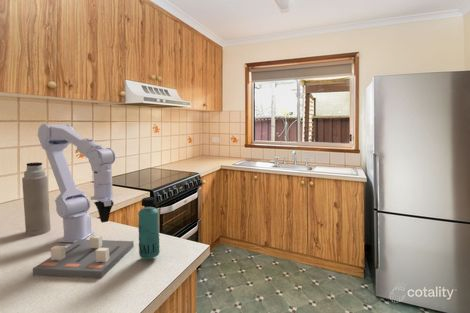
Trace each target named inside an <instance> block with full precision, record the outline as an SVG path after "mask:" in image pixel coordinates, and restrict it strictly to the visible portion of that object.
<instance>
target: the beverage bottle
mask: <svg viewBox="0 0 470 313" xmlns="http://www.w3.org/2000/svg"><path fill="white" fill-rule="evenodd" d="M155 205H156V199H155V197H153V196H147V197H143V198H142V199H141V206H142V208H141V209H140V210H139V211H138V213H137V215H138V220H137V222H138V224H137V226H138V229H137V230H138V254H139V257H140V258H141V259H144V260H145V259H146V260H148V259H154V258H157V256H160V255H159V254H160V223H159V222H160V219H159V217H160V211H159V210H158V209H157V208H156V207H153V206H155Z"/></svg>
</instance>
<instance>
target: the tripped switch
mask: <svg viewBox="0 0 470 313" xmlns="http://www.w3.org/2000/svg"><path fill="white" fill-rule="evenodd" d="M89 240H90V248H100V247H101V246H102V240H103V235H93V234H92V235H91V236H89Z"/></svg>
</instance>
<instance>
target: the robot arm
mask: <svg viewBox="0 0 470 313" xmlns="http://www.w3.org/2000/svg"><path fill="white" fill-rule="evenodd" d="M74 129H75V128H74V127H73V126H71V125H70V124H48V123H47V124H46V123H42V124H40V126H39V127H38V130H37V137H38V140H39V143H40V146H41V148H42V149H43V150H44V151H45V154H46V156H47V160H48V162H49V166H50V167H51V168H50V169H51V171H52V172H53V176H54V179H55V181H56V184H57V186H58V189H59V191H60V192H59V195H58V196H56V198H55V200H54V202H55V208H56V213H57V215H58V216H59V217H60V218H62V224H63V227H62V228H63V237H62V238H61V239H59V240H57V242H58V243H71V244H72V243H74V242H76V241H77V240H79V239H86V238H87V239H88V237H91V236H92V235H93V234H94V233H95V232H94V231H92V217H91V215H90V214H89V213H88V211H89V210H90V208H91V201H90V200H92V201H93V200H95V201H94V202H93V203H94V205H95V207H96V209H97V212H98V215H99V220H100V222H101V223H107V222H109V220H110V215H111V210H112V208H113V206H114V205H115V204H114V201H113V199H114V193H113V168H112V165H113V164H114V163H115V161H116V154H115V151H114V150H113V149H112V148H111V147H106V148H104V147H103V146H102V145H101V144H98V143H96V142H95V141H94V139H93V138H91V137H89V138H86V137H85V138H83V137H82V136H81V135H80V134H79V133H77V132H76V131H75V130H74ZM70 144H71V145H73V146H75V147H76V150H77V152H78V153H79V154H81V155H82V156H83V157H85V158H86V159H88V162H89V164H90V167H91V168H90V169H91V172H93V174H92V175H93V176H92V177H93V190H94V191H93V195H94V196H90V198H89V197H87V195H86V193H85V191H83V190H81V189H79V188H77V186H76V183H75V180H74V178H73V175H72V172H71V170H70V167H69V165H68V162H67V159H66V156H65V153H64V149H66V148H67V147H68V146H69V145H70Z"/></svg>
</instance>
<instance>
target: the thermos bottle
mask: <svg viewBox="0 0 470 313" xmlns="http://www.w3.org/2000/svg"><path fill="white" fill-rule="evenodd" d="M46 174H47V172H46V171H45V170H44V169H43V163H42V162H37V161H36V162H28V163H26V170H25V171H24V172H23V177H22V178H21V179H22V180H21V181H22V197H23V198H22V199H23V209H24V210H23V211H24V222H25V223H24V225H25V234H26V236H39V235H44V234H46V233H49V232H50V231H51V230H52V229H51V228H52V226H51V212H50V198H49V197H50V196H49V182H48V181H49V180H48V175H46Z"/></svg>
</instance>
